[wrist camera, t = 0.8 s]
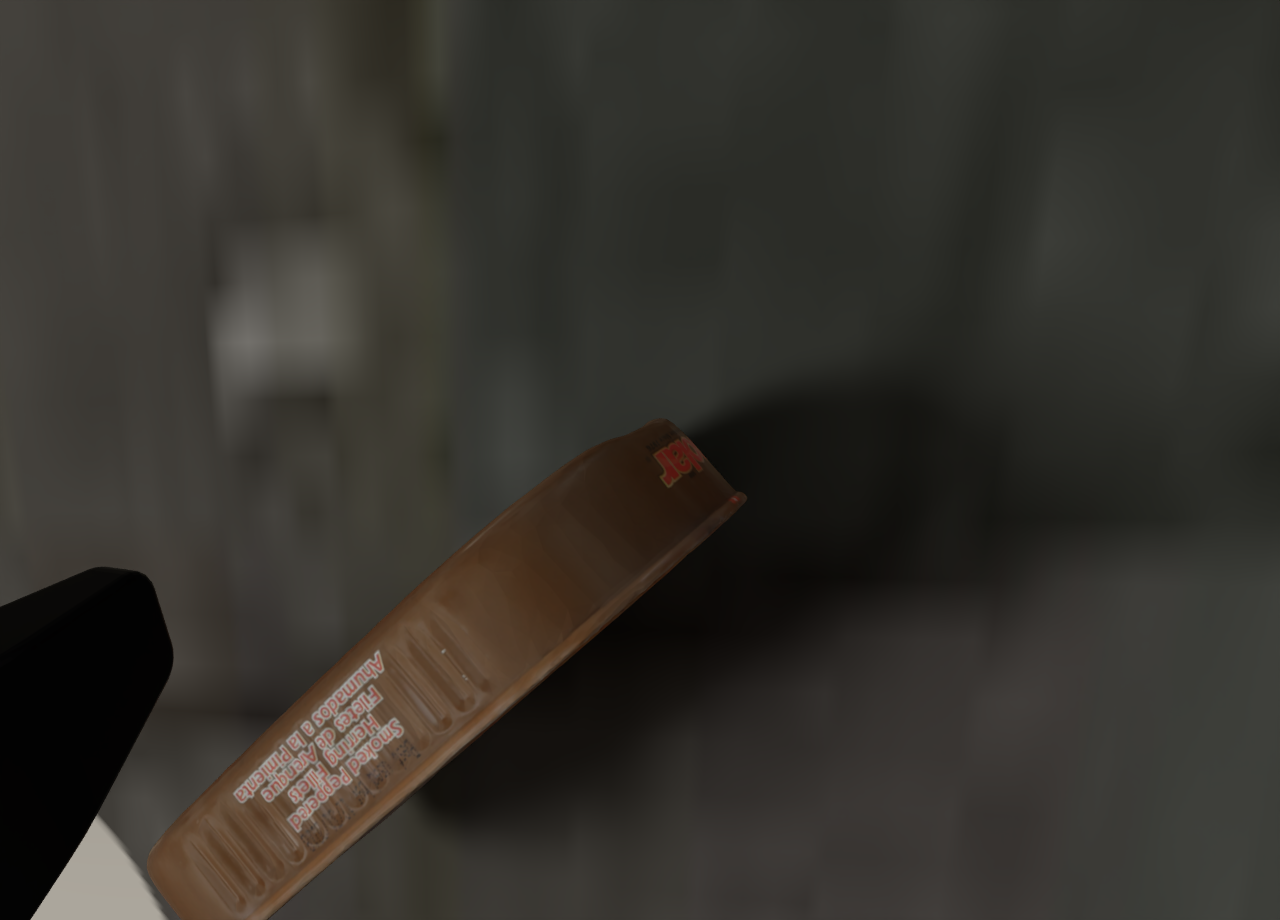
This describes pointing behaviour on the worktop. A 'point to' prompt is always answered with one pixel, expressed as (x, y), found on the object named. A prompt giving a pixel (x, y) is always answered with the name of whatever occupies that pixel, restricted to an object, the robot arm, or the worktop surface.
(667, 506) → the tin
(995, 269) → the worktop surface
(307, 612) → the worktop surface
